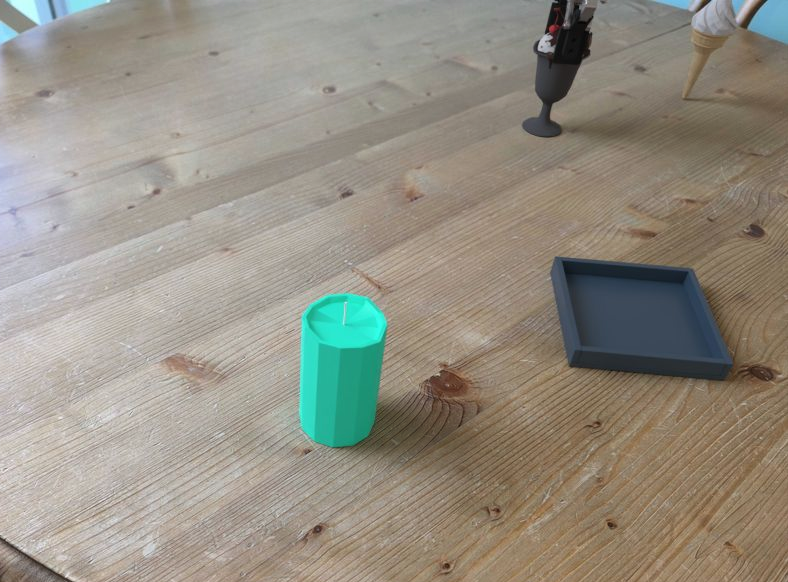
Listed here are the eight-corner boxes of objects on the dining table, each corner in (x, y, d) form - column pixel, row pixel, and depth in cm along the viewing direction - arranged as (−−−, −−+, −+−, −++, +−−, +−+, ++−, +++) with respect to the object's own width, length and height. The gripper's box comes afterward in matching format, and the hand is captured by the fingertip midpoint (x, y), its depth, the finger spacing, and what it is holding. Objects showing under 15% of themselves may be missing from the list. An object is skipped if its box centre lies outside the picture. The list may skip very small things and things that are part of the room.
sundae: (505, 127, 95) (532, 5, 85) (532, 110, 99) (562, -9, 89) (550, 146, 92) (584, 22, 82) (577, 128, 96) (613, 7, 86)
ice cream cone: (670, 86, 106) (712, -27, 96) (710, 97, 104) (758, -17, 94) (658, 99, 103) (700, -16, 92) (699, 112, 101) (747, -5, 90)
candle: (316, 457, 56) (323, 341, 48) (287, 401, 60) (288, 286, 52) (387, 434, 58) (405, 319, 50) (354, 382, 62) (366, 267, 54)
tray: (685, 284, 73) (693, 268, 72) (724, 380, 64) (734, 364, 63) (550, 272, 74) (555, 256, 73) (568, 366, 65) (574, 349, 63)
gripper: (663, -100, 70) (606, 84, 82) (627, -141, 82) (582, 25, 95) (582, -106, 70) (537, 79, 83) (558, -145, 83) (522, 20, 95)
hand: (561, 48), depth 89 cm, fingers closed on sundae, 6 cm apart
